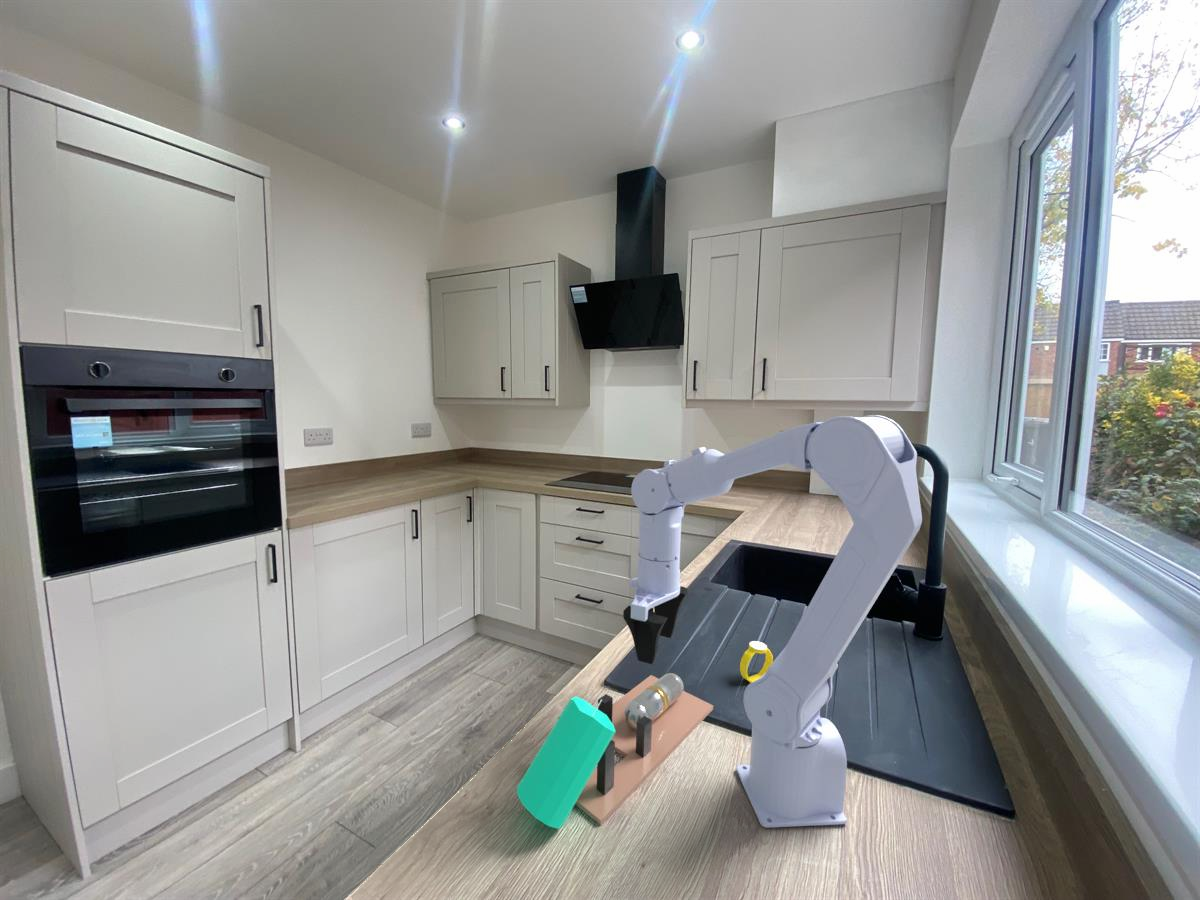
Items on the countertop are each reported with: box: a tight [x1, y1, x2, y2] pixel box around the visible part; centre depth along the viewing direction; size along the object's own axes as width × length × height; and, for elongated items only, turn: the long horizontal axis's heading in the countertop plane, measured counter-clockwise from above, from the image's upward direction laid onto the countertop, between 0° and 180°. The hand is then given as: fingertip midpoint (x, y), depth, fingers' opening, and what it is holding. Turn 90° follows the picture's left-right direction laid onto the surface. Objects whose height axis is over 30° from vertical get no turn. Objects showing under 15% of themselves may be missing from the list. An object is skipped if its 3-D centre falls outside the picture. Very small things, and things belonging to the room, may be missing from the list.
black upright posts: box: [557, 693, 652, 796], centre depth 57 cm, size 9×8×6 cm
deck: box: [574, 674, 714, 826], centre depth 62 cm, size 25×11×1 cm, turn 139°
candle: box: [516, 696, 615, 830], centre depth 51 cm, size 6×6×12 cm
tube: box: [624, 672, 685, 730], centre depth 66 cm, size 12×4×4 cm, turn 139°
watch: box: [739, 640, 774, 684], centre depth 75 cm, size 6×3×6 cm, turn 117°
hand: (655, 647), depth 65 cm, fingers open, 7 cm apart
